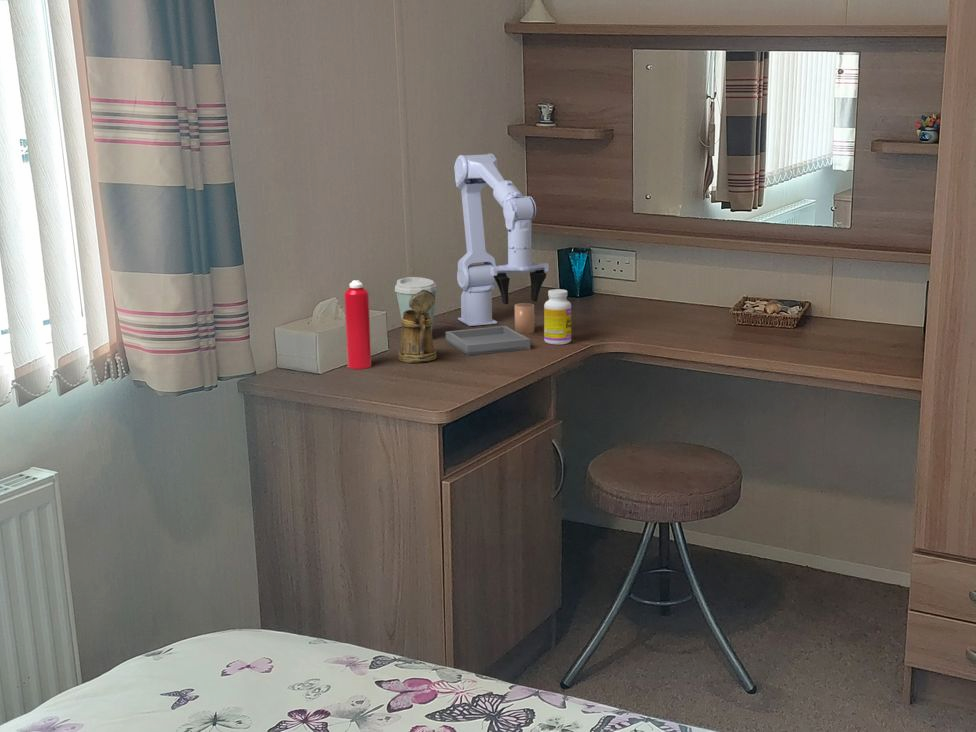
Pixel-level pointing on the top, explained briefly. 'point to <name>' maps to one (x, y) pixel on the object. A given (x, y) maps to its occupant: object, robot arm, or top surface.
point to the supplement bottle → (557, 318)
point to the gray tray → (487, 340)
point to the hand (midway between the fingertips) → (519, 302)
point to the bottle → (357, 326)
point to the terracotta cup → (524, 318)
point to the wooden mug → (417, 330)
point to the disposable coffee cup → (413, 292)
